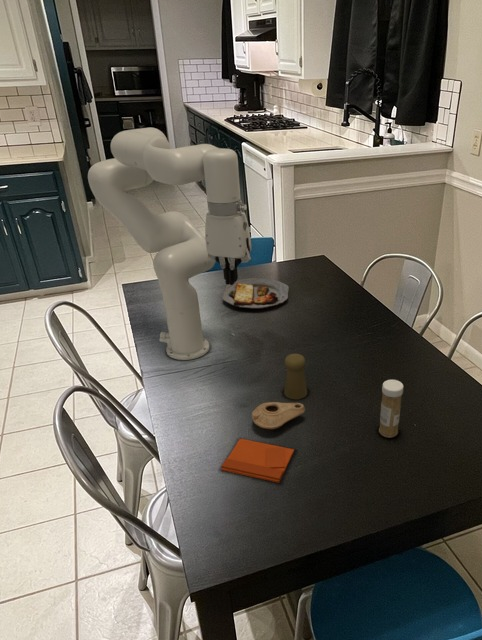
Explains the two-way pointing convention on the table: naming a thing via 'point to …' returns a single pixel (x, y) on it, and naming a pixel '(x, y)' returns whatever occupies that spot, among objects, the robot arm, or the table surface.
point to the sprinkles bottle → (390, 408)
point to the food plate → (255, 293)
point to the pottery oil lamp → (276, 414)
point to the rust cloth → (258, 460)
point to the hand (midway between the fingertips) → (231, 282)
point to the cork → (295, 377)
